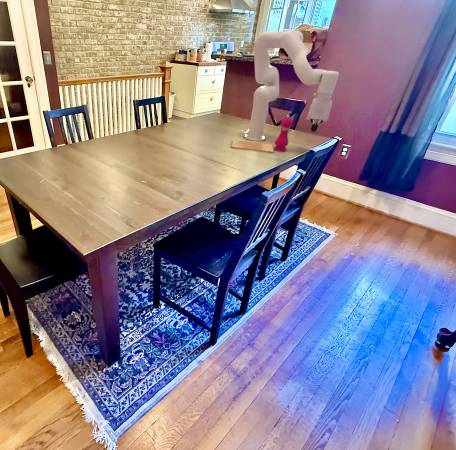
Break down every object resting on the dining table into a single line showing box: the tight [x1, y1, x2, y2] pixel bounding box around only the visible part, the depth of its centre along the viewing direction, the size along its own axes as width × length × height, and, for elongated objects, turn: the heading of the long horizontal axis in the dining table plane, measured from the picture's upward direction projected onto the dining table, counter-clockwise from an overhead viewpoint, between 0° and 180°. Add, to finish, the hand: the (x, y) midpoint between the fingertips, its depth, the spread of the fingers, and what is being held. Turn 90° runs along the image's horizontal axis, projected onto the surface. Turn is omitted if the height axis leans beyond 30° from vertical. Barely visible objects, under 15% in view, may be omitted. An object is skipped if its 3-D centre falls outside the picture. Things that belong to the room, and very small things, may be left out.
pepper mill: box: [273, 114, 293, 153], centre depth 177 cm, size 7×7×20 cm
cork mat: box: [231, 139, 274, 154], centre depth 185 cm, size 24×14×1 cm, turn 73°
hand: (313, 131), depth 172 cm, fingers closed
